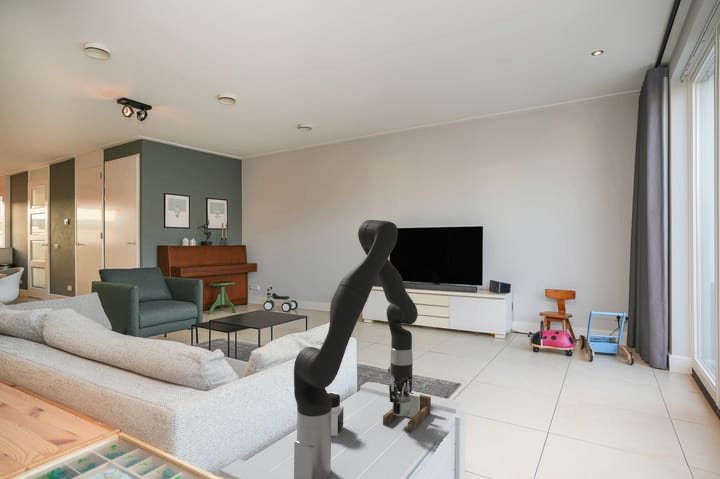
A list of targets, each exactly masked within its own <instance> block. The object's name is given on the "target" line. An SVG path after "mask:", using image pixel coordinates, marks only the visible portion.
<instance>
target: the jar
mask: <svg viewBox="0 0 720 479" xmlns="http://www.w3.org/2000/svg"><path fill="white" fill-rule="evenodd" d="M398 397H399V396H398ZM391 409H392V413H393V402H391ZM393 414H394V413H393ZM409 414H410V397H409V396H408V395H405V394H403V396H402V397H401V400H400V414H395V415H398V416H399V417H407V416H406V415H409ZM398 416H397V417H398Z"/></svg>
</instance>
